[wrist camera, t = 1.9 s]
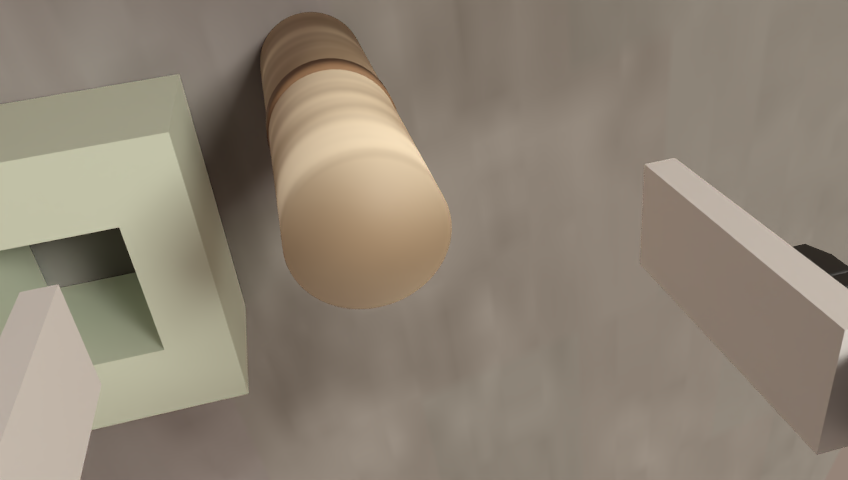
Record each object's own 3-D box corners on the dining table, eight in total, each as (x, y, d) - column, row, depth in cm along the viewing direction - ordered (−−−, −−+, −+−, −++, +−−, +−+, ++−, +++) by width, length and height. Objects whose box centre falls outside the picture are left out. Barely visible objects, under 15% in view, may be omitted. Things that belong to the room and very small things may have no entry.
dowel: (248, 20, 28) (262, 177, 16) (355, 2, 29) (445, 141, 17) (270, 122, 30) (298, 326, 18) (370, 103, 31) (460, 290, 19)
